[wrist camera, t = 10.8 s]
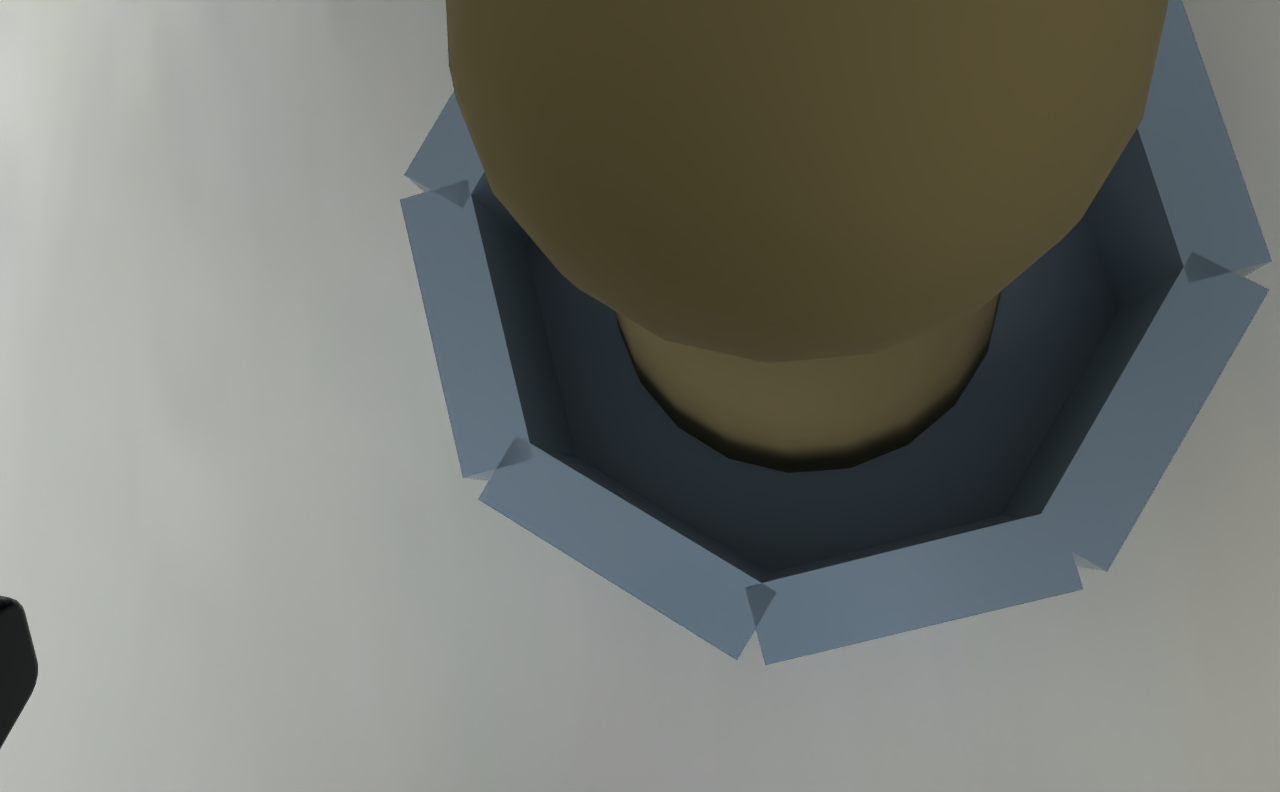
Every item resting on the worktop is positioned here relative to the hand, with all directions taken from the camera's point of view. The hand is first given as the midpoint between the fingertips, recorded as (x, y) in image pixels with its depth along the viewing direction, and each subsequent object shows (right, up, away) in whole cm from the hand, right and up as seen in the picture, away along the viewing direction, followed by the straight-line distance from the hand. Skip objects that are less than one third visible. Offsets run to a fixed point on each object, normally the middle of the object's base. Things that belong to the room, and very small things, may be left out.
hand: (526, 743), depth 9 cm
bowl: (+4, +5, +9) cm, 11 cm away
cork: (+4, +5, +8) cm, 10 cm away
